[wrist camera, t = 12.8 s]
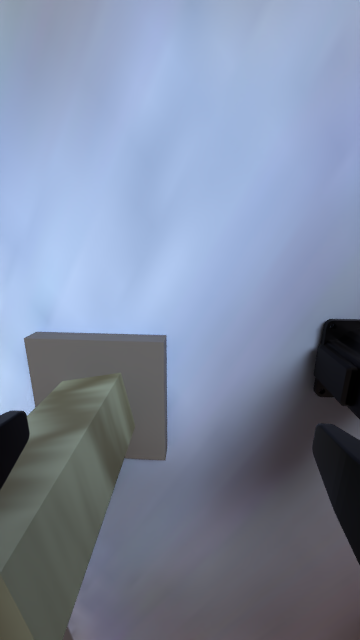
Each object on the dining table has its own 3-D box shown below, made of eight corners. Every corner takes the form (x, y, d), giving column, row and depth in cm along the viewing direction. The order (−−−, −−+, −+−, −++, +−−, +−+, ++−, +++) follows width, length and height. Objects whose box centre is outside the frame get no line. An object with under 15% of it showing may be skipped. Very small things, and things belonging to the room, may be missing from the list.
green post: (121, 372, 20) (-1, 573, 8) (135, 425, 21) (51, 672, 9) (62, 381, 21) (-140, 582, 8) (79, 432, 22) (-73, 673, 10)
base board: (166, 335, 21) (163, 342, 19) (167, 446, 24) (165, 460, 22) (36, 331, 21) (23, 338, 20) (52, 440, 24) (43, 453, 23)
